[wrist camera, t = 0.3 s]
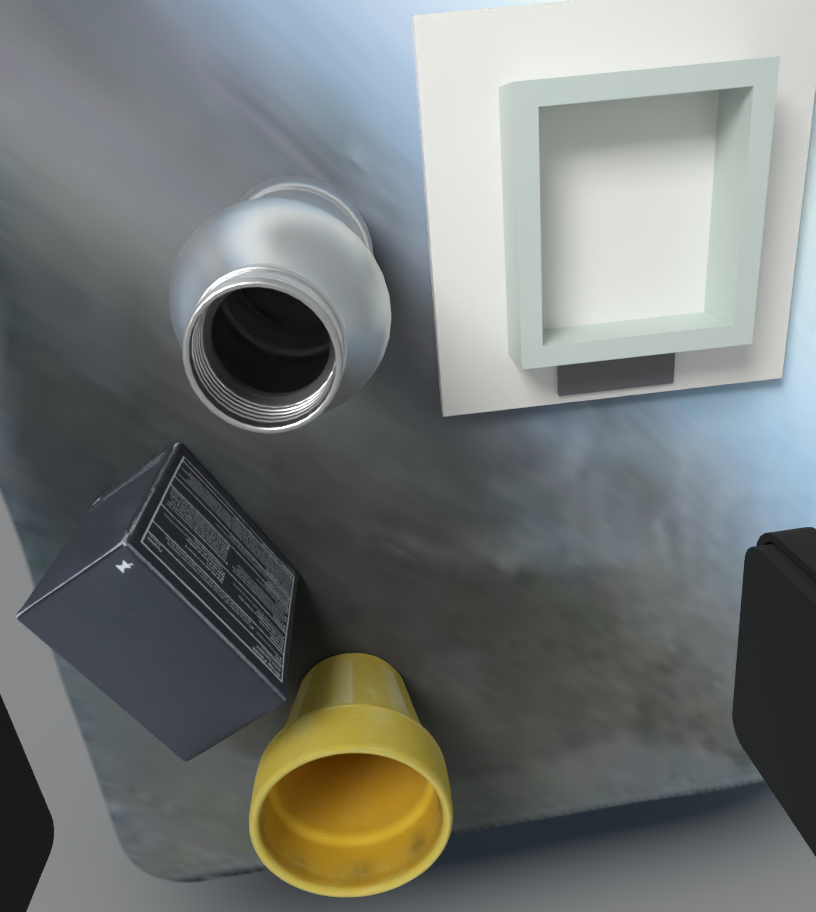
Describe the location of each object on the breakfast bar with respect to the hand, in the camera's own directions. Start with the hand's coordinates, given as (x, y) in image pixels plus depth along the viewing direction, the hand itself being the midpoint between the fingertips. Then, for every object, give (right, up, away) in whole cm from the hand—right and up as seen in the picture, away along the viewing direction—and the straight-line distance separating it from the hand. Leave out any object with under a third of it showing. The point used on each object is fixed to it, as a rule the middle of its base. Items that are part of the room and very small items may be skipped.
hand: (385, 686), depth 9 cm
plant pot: (-3, -12, +37) cm, 39 cm away
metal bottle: (-5, +13, +26) cm, 30 cm away
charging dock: (+10, +15, +27) cm, 32 cm away
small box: (-11, -2, +32) cm, 34 cm away
